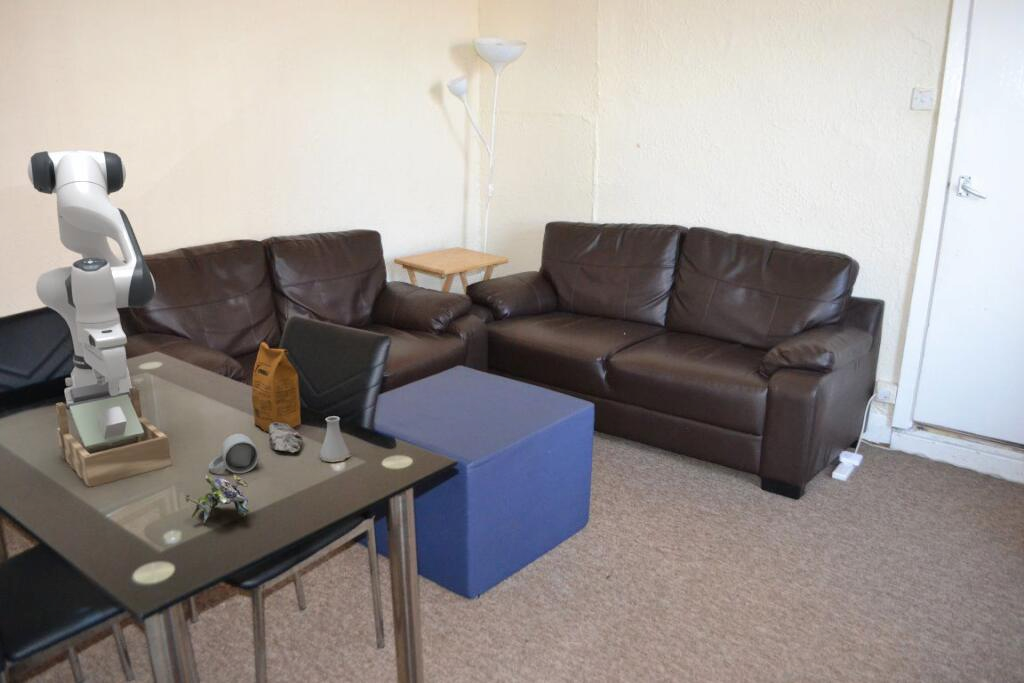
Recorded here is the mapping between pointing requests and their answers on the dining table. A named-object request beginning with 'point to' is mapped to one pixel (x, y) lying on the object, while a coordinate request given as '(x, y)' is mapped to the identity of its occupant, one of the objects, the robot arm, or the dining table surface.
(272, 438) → the mineral rock
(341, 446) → the flask
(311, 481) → the dining table surface
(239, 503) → the passion flower
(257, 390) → the coffee package
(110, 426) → the light grey block
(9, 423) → the dining table surface
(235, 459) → the ceramic mug
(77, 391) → the trapdoor
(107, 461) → the trapdoor frame
